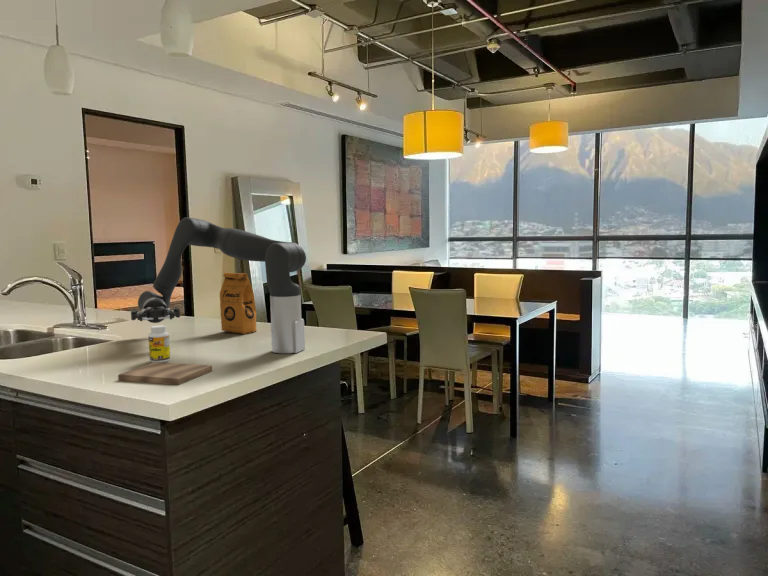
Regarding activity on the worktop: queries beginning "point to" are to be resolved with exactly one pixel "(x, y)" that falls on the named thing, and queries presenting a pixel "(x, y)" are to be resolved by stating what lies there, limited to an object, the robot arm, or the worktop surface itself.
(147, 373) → the walnut board
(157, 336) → the supplement bottle
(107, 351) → the worktop surface
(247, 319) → the coffee package
